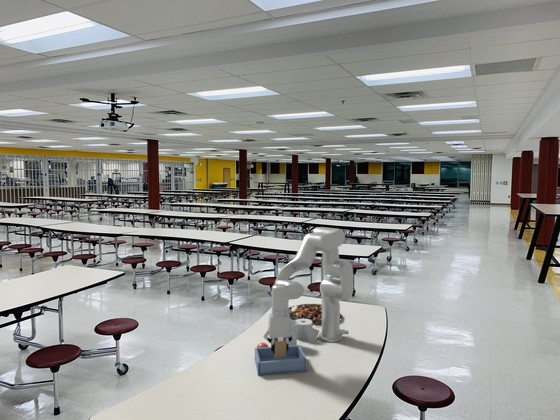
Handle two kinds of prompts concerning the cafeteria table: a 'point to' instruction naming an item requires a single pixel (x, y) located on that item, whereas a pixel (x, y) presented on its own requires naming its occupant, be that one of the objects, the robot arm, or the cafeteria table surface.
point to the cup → (295, 328)
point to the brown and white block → (280, 347)
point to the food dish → (308, 313)
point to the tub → (280, 361)
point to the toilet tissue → (306, 330)
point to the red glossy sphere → (262, 345)
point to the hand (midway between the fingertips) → (279, 351)
